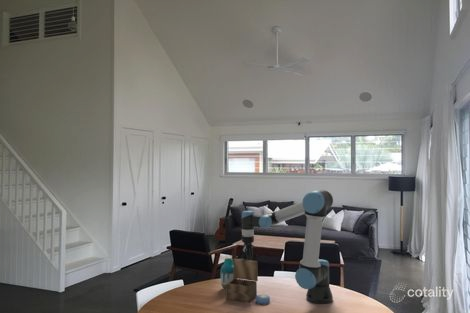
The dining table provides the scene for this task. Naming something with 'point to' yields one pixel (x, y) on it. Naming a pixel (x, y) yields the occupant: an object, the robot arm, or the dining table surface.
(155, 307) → the dining table surface
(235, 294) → the box
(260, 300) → the blue beige round disc
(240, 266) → the lid
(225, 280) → the vase
